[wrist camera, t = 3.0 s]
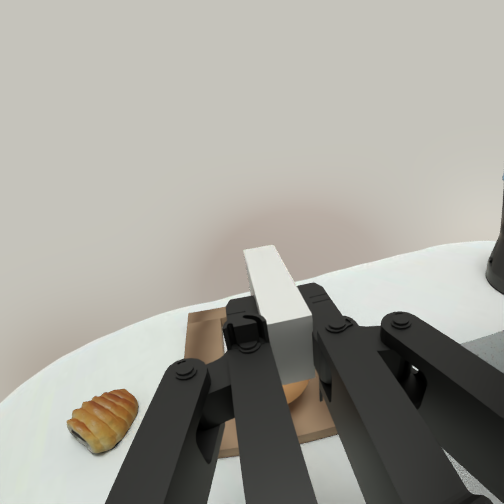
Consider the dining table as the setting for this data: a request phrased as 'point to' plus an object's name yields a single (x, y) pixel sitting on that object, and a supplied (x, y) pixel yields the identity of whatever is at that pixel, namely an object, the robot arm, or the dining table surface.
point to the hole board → (302, 408)
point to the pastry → (103, 420)
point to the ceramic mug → (489, 349)
